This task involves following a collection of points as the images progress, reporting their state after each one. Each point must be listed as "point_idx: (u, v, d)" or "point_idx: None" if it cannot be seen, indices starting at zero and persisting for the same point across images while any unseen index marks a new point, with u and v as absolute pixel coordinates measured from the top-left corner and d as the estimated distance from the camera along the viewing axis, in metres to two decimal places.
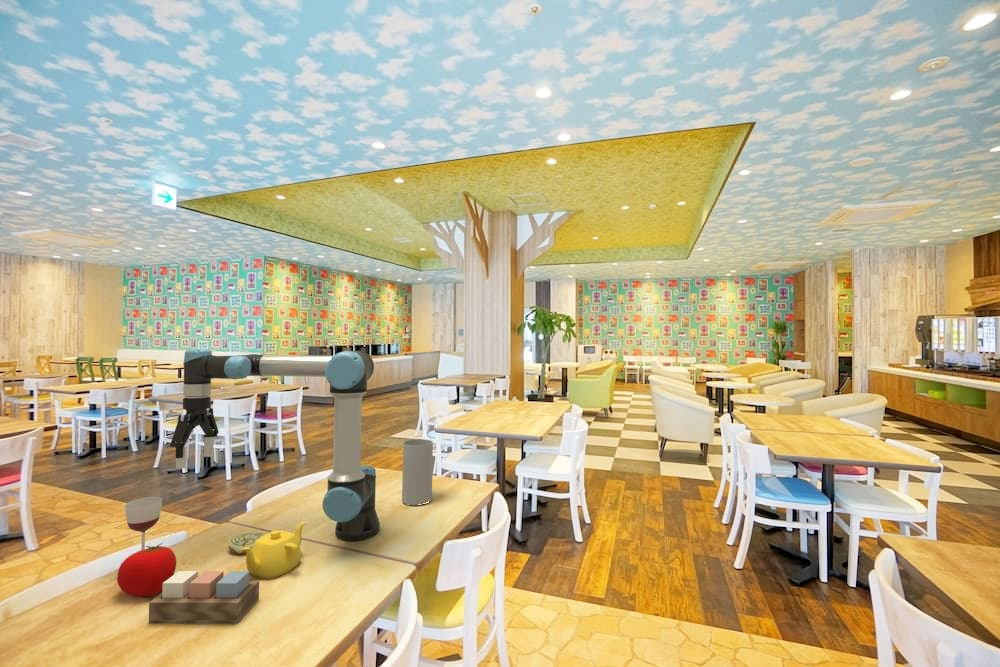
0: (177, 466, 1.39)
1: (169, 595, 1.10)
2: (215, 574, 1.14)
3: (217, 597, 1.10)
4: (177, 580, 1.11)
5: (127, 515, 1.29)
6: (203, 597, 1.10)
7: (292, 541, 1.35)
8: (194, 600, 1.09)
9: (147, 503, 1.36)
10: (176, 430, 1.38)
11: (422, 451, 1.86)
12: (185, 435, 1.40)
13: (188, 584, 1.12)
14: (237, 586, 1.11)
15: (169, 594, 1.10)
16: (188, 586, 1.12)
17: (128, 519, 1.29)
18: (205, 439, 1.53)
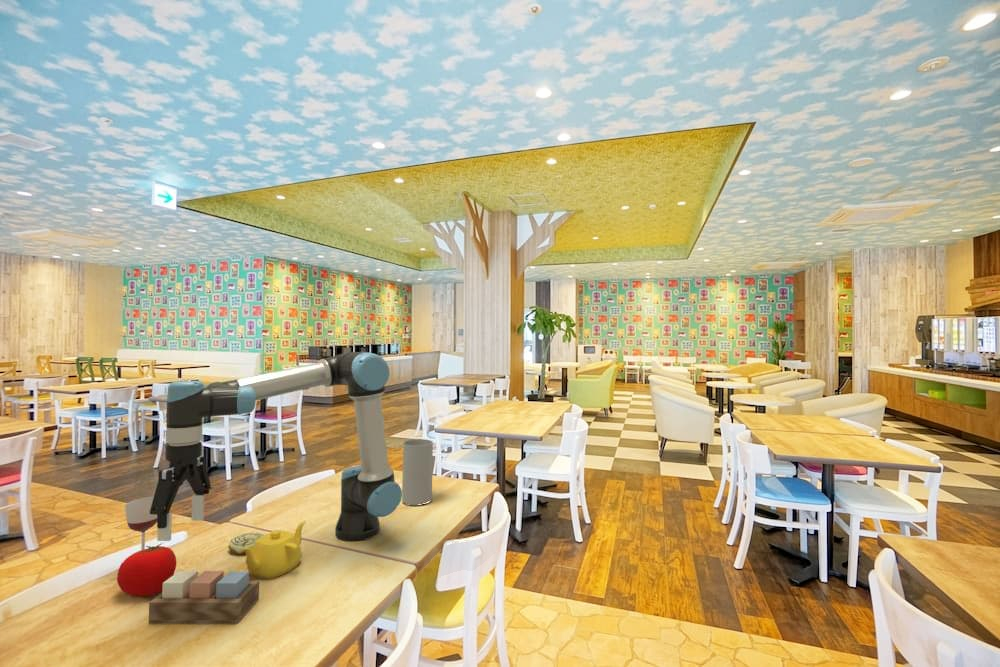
0: (159, 538, 1.07)
1: (169, 595, 1.10)
2: (215, 574, 1.14)
3: (217, 597, 1.10)
4: (177, 580, 1.11)
5: (127, 515, 1.29)
6: (203, 597, 1.10)
7: (292, 541, 1.35)
8: (194, 600, 1.09)
9: (147, 503, 1.36)
10: (157, 492, 1.05)
11: (422, 451, 1.86)
12: (169, 497, 1.08)
13: (188, 584, 1.12)
14: (237, 586, 1.11)
15: (169, 594, 1.10)
16: (188, 586, 1.12)
17: (128, 519, 1.29)
18: (193, 498, 1.19)
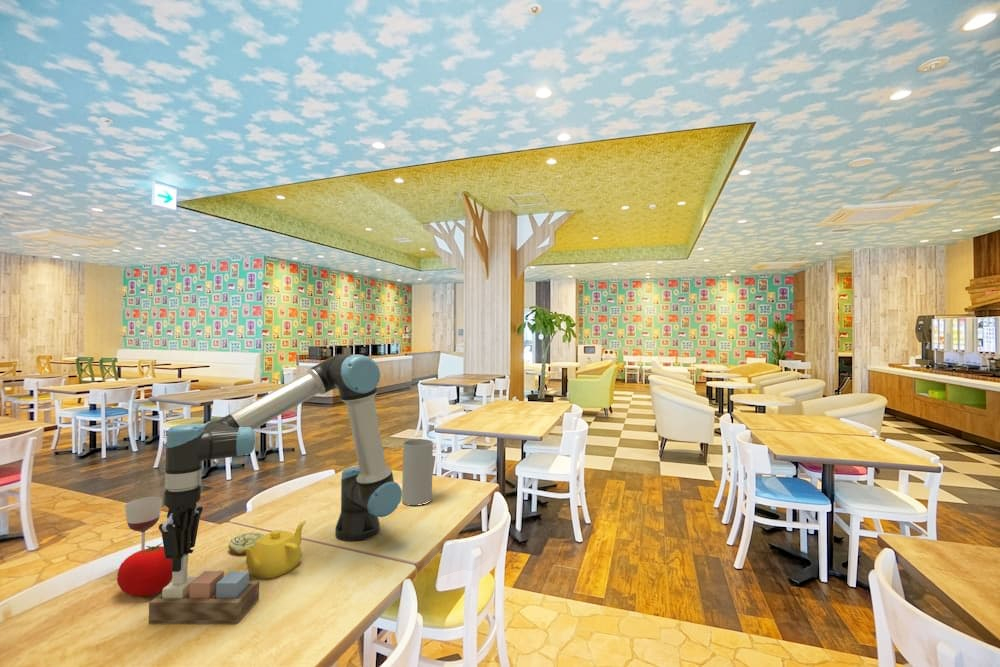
0: (174, 581, 1.12)
1: None
2: (215, 574, 1.14)
3: (217, 597, 1.10)
4: (177, 586, 1.11)
5: (127, 515, 1.29)
6: (203, 597, 1.10)
7: (292, 541, 1.35)
8: (194, 600, 1.09)
9: (147, 503, 1.36)
10: (165, 542, 1.08)
11: (422, 451, 1.86)
12: (178, 544, 1.11)
13: (188, 590, 1.12)
14: (237, 586, 1.11)
15: None
16: (188, 591, 1.12)
17: (128, 519, 1.29)
18: None
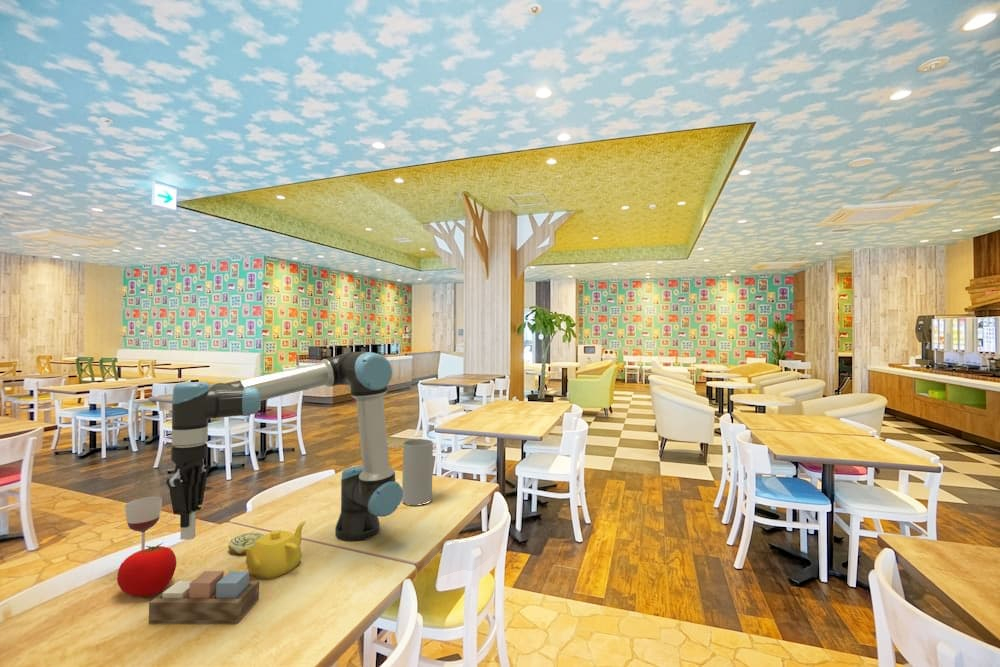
0: (182, 537, 1.12)
1: None
2: (215, 574, 1.14)
3: (217, 597, 1.10)
4: (177, 590, 1.11)
5: (127, 515, 1.29)
6: (203, 597, 1.10)
7: (292, 541, 1.35)
8: (194, 600, 1.09)
9: (147, 503, 1.36)
10: (172, 497, 1.09)
11: (422, 451, 1.86)
12: (186, 500, 1.11)
13: None
14: (237, 586, 1.11)
15: None
16: None
17: (128, 519, 1.29)
18: None
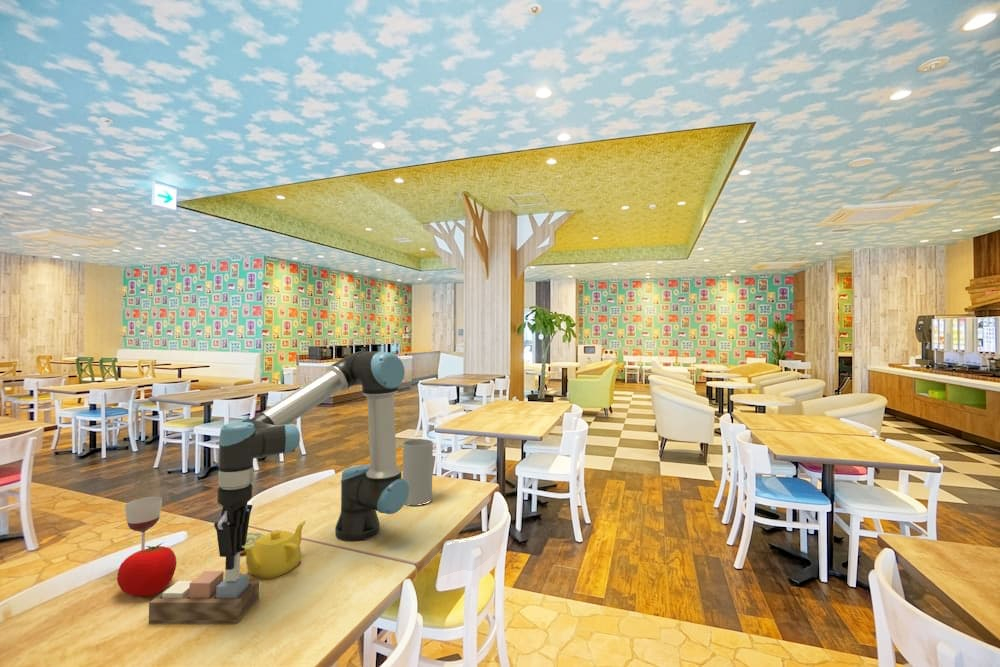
0: (227, 579, 1.12)
1: None
2: (215, 574, 1.14)
3: None
4: (177, 590, 1.11)
5: (127, 515, 1.29)
6: (203, 597, 1.10)
7: (292, 541, 1.35)
8: (194, 600, 1.09)
9: (147, 503, 1.36)
10: (219, 540, 1.08)
11: (422, 451, 1.86)
12: (232, 541, 1.11)
13: None
14: (237, 589, 1.11)
15: None
16: None
17: (128, 519, 1.29)
18: None
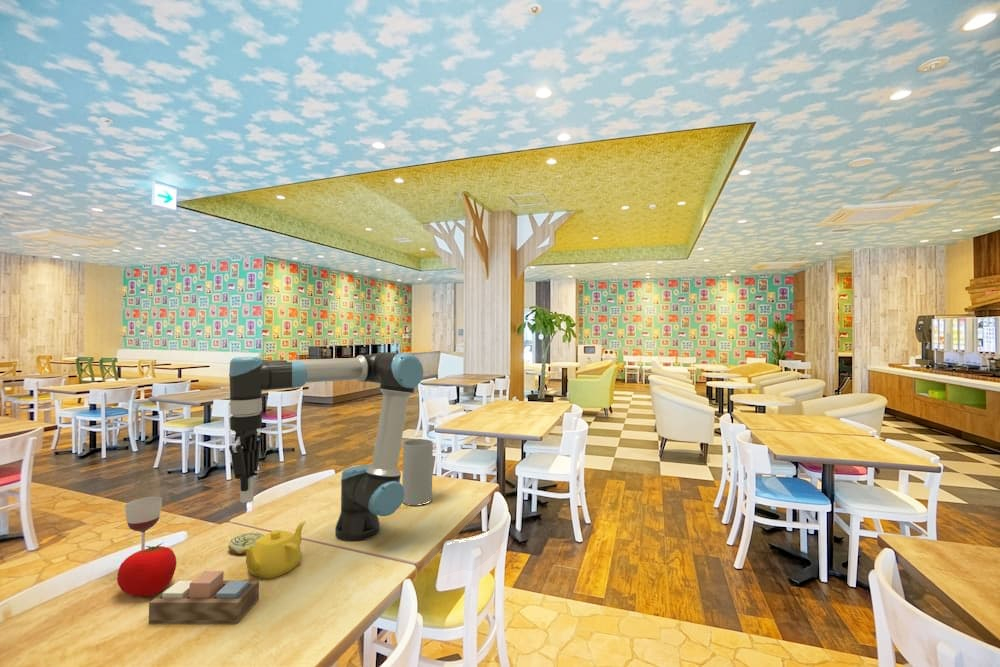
0: (242, 500, 1.21)
1: None
2: (215, 574, 1.14)
3: None
4: (177, 590, 1.11)
5: (127, 515, 1.29)
6: (203, 597, 1.10)
7: (292, 541, 1.35)
8: (194, 600, 1.09)
9: (147, 503, 1.36)
10: (234, 463, 1.17)
11: (422, 451, 1.86)
12: (245, 465, 1.20)
13: None
14: (237, 596, 1.11)
15: None
16: None
17: (128, 519, 1.29)
18: None
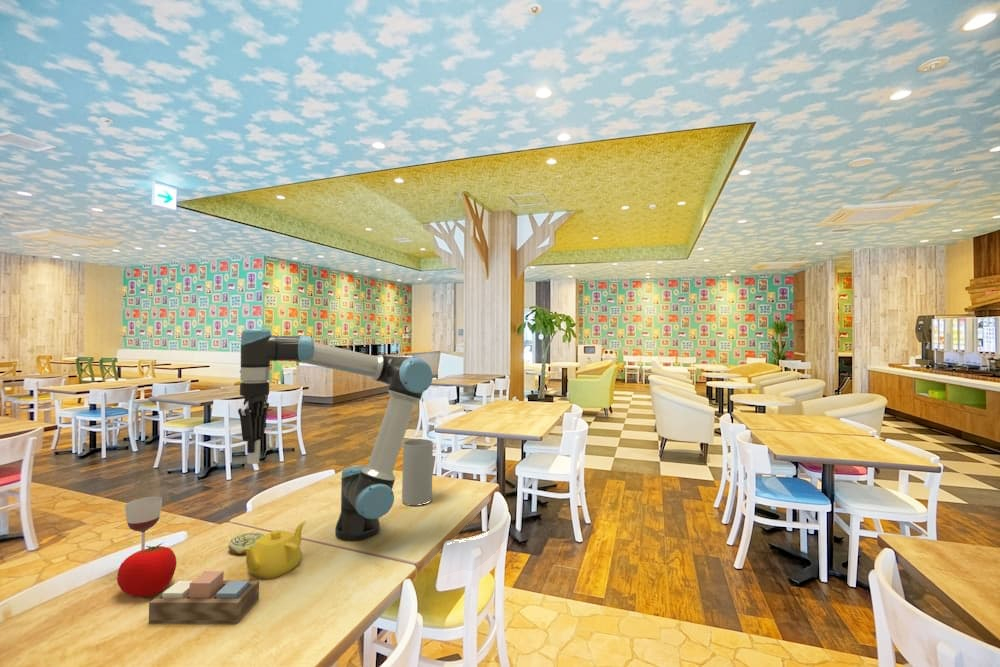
0: (248, 462, 1.30)
1: None
2: (215, 574, 1.14)
3: None
4: (177, 590, 1.11)
5: (127, 515, 1.29)
6: (203, 597, 1.10)
7: (292, 541, 1.35)
8: (194, 600, 1.09)
9: (147, 503, 1.36)
10: (242, 425, 1.26)
11: (422, 451, 1.86)
12: (253, 429, 1.29)
13: None
14: (237, 596, 1.11)
15: None
16: None
17: (128, 519, 1.29)
18: None
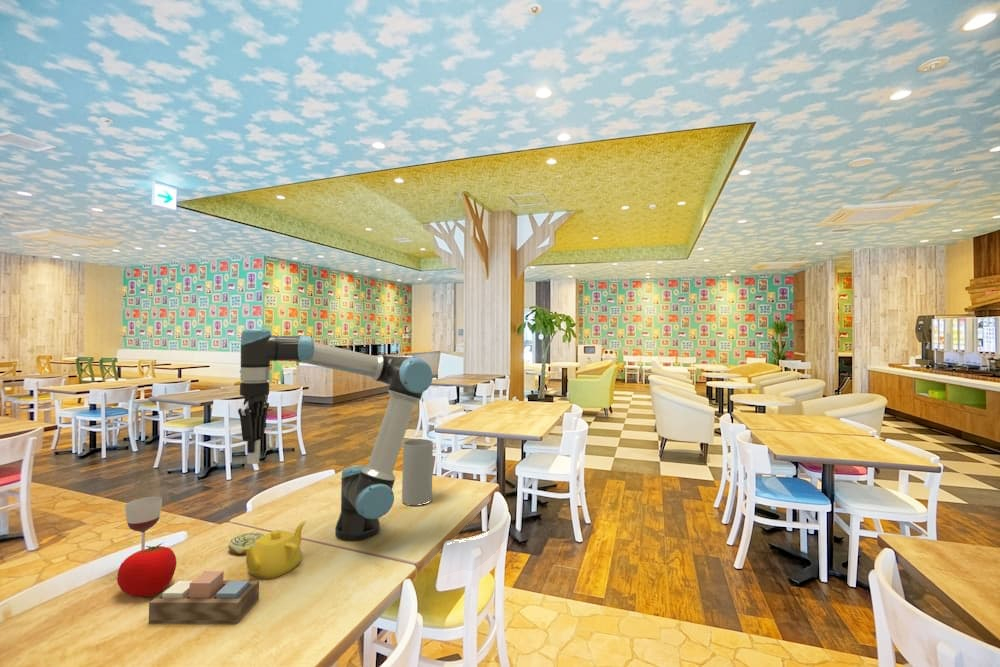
0: (248, 462, 1.30)
1: None
2: (215, 574, 1.14)
3: None
4: (177, 590, 1.11)
5: (127, 515, 1.29)
6: (203, 597, 1.10)
7: (292, 541, 1.35)
8: (194, 600, 1.09)
9: (147, 503, 1.36)
10: (242, 425, 1.26)
11: (422, 451, 1.86)
12: (253, 429, 1.29)
13: None
14: (237, 596, 1.11)
15: None
16: None
17: (128, 519, 1.29)
18: None
